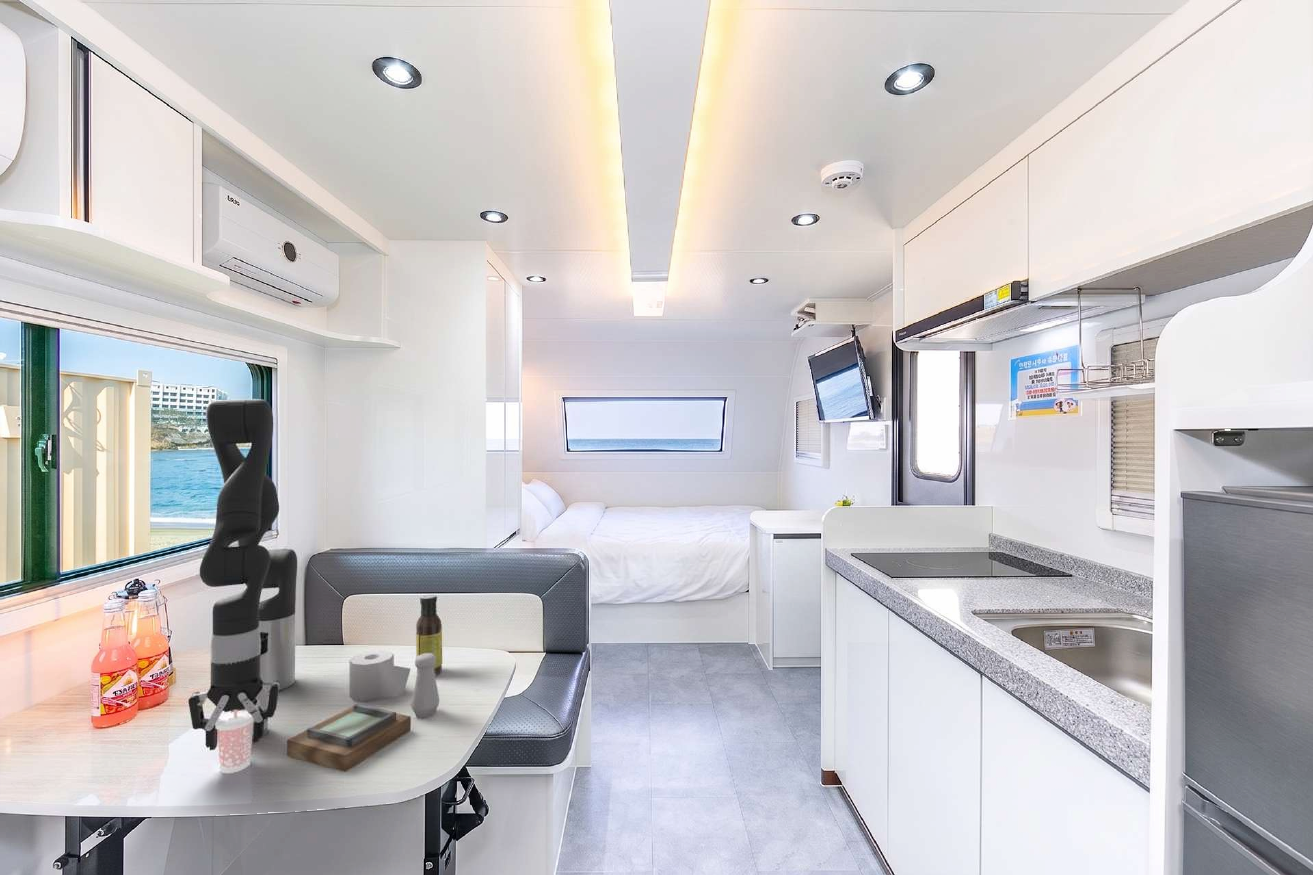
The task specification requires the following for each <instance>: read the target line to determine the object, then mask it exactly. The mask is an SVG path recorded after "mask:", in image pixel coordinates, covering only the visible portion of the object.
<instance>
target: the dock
mask: <svg viewBox="0 0 1313 875" xmlns="http://www.w3.org/2000/svg"><path fill="white" fill-rule="evenodd" d="M411 720H412V716H410V715H406V714H400V713H397V712H396V711H391V710H388V709H387V710H386V709H383V708H378V707H373V706H370V705H365V704H364V705H363V704H359V703H355V704H353V706H351V707H348V708H346V709H345V710H343V711H341V712H339V713H337V714H335V715H332V716H331V717H329V718H326V719H325V720H324V721H321V722H319V723H318V724H315V725H313V726H312V727H309V728H308V727H307V729H305V730H304V731H302V732H300V733H298V734H296V735H294V736H291V737H290V738H288V739H287V740H286V755H287V756H288V757H291V758H295V759H298V760H302V761H306V762H309V763H312V764H315V765H316V764H317V765H320V766H323V767H328V768H331V769H334V770H338V771H341V772H347V771H349V770H351V769H353V768H354V767H356V766H357V765H359V764H360V763H362V762H363V761H365V760H367V759H368V758H370V757H371V756H373V755H375V754H376V753H377V752H379V751H381V750H382V749H384V748H386V747H388V745H390V744H392V743H393V742H395V741H397V740H398V739H400V738H401V737H403V736H405V735H406V734H408V733H409V732H411V731H412V729H411V728H412V726H411V724H412V723H411V722H412V721H411Z"/></svg>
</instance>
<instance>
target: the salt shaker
mask: <svg viewBox="0 0 1313 875" xmlns="http://www.w3.org/2000/svg"><path fill="white" fill-rule="evenodd" d="M435 663H436V656H435V655H434V654H432V653H425V654H421V655H419V656H417V657H416V656H415V660H414V666H415V668H418V672H417V671H416V679H415V684H414V689H413V695H412V699H411V704H410V706H411V709H412V711H413V713H414V715H415V718H418V719H419V718H420V719H425V718H426V719H427V718H429V717H432V716H434V714H435V713H436V712H437V708H438V707H439V704H440V696H439V690H438V685H437V680H436V675H435V673H434V667H433V666H434V665H435Z"/></svg>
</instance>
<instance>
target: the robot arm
mask: <svg viewBox="0 0 1313 875" xmlns="http://www.w3.org/2000/svg"><path fill="white" fill-rule="evenodd" d="M205 420H206V421H205V422H206V427H207V431H208V434H209V437H210V442H211V443H212V446H213V449H214V451H215V455H216V457H217V461H218V465H219V467H220V470H221V474H222V478H223V485H222V486H221V489H220V491H219V494H218V497H217V501H216V502H217V503H216V515H215V527H214V531H213V534H212V538H211V540H210V542H209V545H208V547H207V549H206V550H205V553H204V555H203V557H202V560H201V561H200V562H201V563H200V566H199V576H200V579H201V581H202V582H203V584H205V585H206V586H208V587H211V588H218V587H219V588H220V587H227V586H236V585H237V586H238V585H244V584H245V586H246V588H245V590H243V591H241V592H240V593H237V594H234V595H231V596H227V597H225V598H222V599H220V600H218V601H216V602H215V603H214V605H213V607H212V634H211V635H212V636H211V642H210V686H209V689H208V690H207V691H203V692H200V691H195V692H193V693H192V695H191V696H190V698H188V708H189V714H190V719H191V725H192V726H191V727H192V729H193V730H199V729H202V730H204V731H205V747H206V748H209V751H216V749H217V747H218V733H217V729H216V728H215V727H216V726H215V723H216V721H217V720H218V718H220V717H221V714H222V713H223V712H224V713H229V712H231V711H232V710H242V709H245V708H246V710H247V711H248V713H249V714H251V716H252V717H253V719H254V720H255V722H254V735H253V740H252V743H253V744H255V743H259V741H260V739H262V738H263V736H264V735H265V734H264V720H265V719H266V718H268V719H269V718H270V719H271V718H273V717H274V714H275V712H276V710H277V705H278V701H279V700H278V699H279V698H278V697H279V693H280V691H282V690H284V689H287V688H289V687H291V686H292V685H294V683H295V681H296V600H297V598H296V596H297V593H296V592H297V577H298V556H297V553H296V551H295V550H294V549H292V548H291V549H289V548H286V549H285V548H282V549H267V548H266V547H265V546H263V545H260V542H261V540H262V538H263V537H264V536H265V534H266V532H268V530H269V529H270V528H271V526H272V525H273V524H274V522H275V521H276V519H277V517H278V515H279V512H280V504H279V503H280V502H279V497H278V492H277V488H276V485H275V483H274V481H273V480H272V479H271V478H270V477H269V476H268V475H267V474H266V470H267V466H268V463H269V462H268V461H269V457H270V456H269V455H270V451H271V446H272V439H273V433H274V415H273V411H272V406H271V405H270V403H269V402H268V401H267V400H265V399H261V398H260V399H259V398H246V399H245V398H241V399H239V398H237V399H217V400H212V401H211V402H209V403H208V405H207V406H206V410H205ZM239 444H241V445H242V444H251V445H250V448H249V451H248V453H247V455H246V456H244V454H243V453H242V452H241V450H240V449H239V446H238V445H239ZM236 542H237V543H238V545H237V546H231V545H232V544H233V543H236ZM276 588H277V589H278V592H277V594H275V595H274V596H272V597H270V598H267V599H264V600H261V594H262V592H263V591H262V590H263V589H265V590H266V589H276ZM260 600H261V601H260ZM260 632H265V633H268V646H267V647H268V683H263V681H262V680H261V678H260V650H261V643H260ZM261 690H264V691H265V694H266V695H267V696H268V707H267V709H266V710H263V708H262V707H261V705H260V702H259V700H258V699H257V695H258V694H259V693H260V691H261ZM207 699H208V700H210V702H211V703H212V704H214V706H216V707H215V708H214V710H213V712H212V713H211V716H210V717H209V718H205V714H204V706H203V705H204V704H205V702H206V700H207ZM263 734H264V735H263Z"/></svg>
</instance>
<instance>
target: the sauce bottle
mask: <svg viewBox="0 0 1313 875" xmlns="http://www.w3.org/2000/svg"><path fill="white" fill-rule="evenodd" d="M437 601H438V596H437V595H436V594H425V595H421V596H420V598H419V603H420V616H419V617H418V620H417V621H416V625H415V626H416V627H415V628H416V632H415V648H416V649H415V650H416V651H415V652H416V653H415V654H416V655H415V658H416V657H417V656H419V655H421V654H425V653H432V654H434V655H435V656H436V663H435V665H434V666H433V667H434V673H435V676H436V675H439V673H441V672H442V669H443V666H442V665H443V633H442V630H443V628H442V626H443V625H442V621H441V618H440V616H439V615H438V614H437V612H438V610H437ZM416 668H417V667H416ZM417 672H418V668H417V669H416V673H417Z"/></svg>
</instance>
